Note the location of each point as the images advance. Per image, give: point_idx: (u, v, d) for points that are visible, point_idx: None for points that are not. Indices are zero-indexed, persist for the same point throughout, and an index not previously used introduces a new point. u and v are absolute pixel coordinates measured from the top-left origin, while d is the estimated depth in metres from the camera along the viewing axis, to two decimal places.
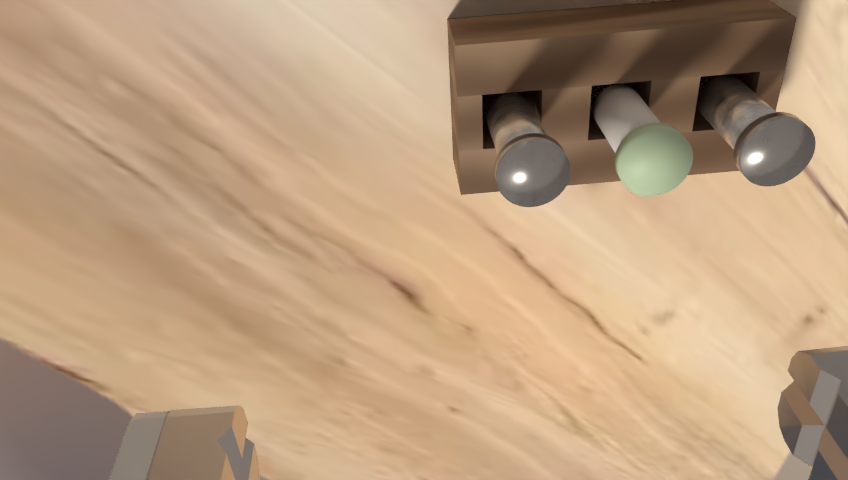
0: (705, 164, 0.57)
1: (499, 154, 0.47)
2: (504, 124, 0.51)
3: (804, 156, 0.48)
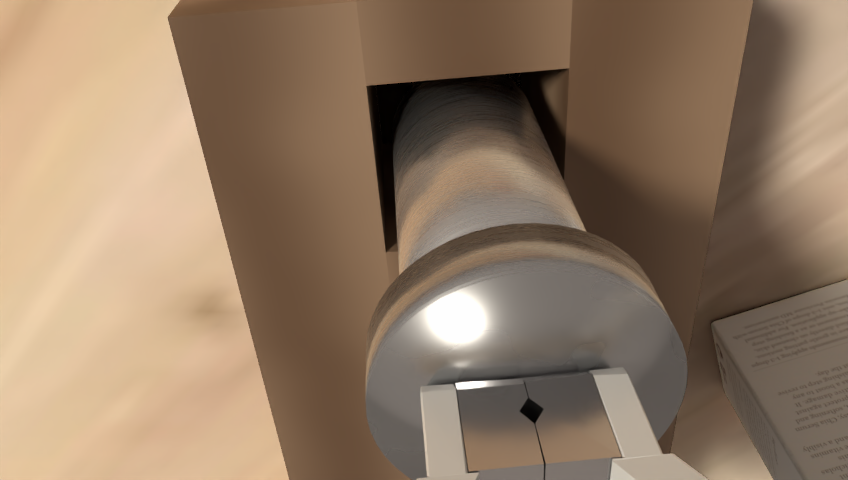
0: None
1: (600, 245, 0.11)
2: (556, 172, 0.14)
3: None
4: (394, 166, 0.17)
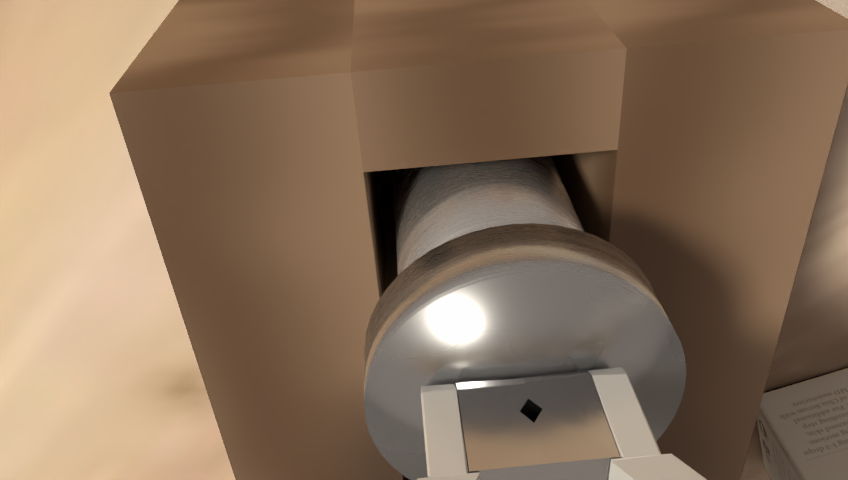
0: None
1: (599, 246, 0.11)
2: (554, 172, 0.14)
3: None
4: None
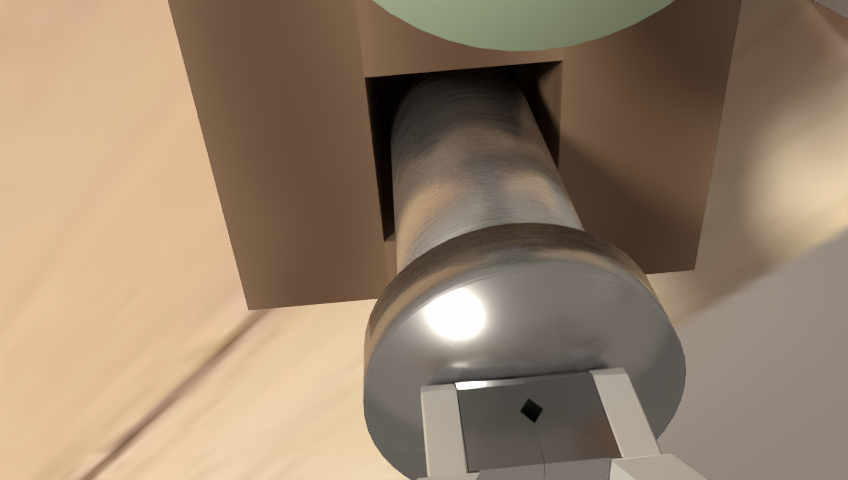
0: (244, 150, 0.17)
1: None
2: None
3: None
4: None
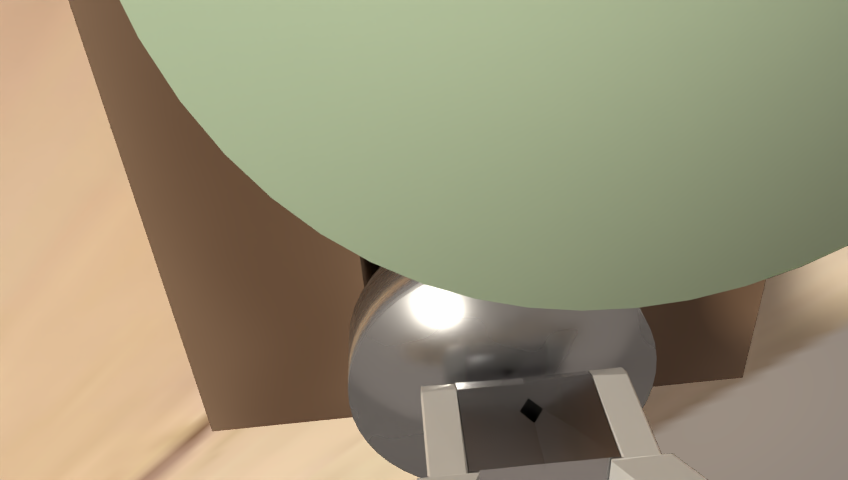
0: (200, 255, 0.14)
1: None
2: None
3: None
4: None
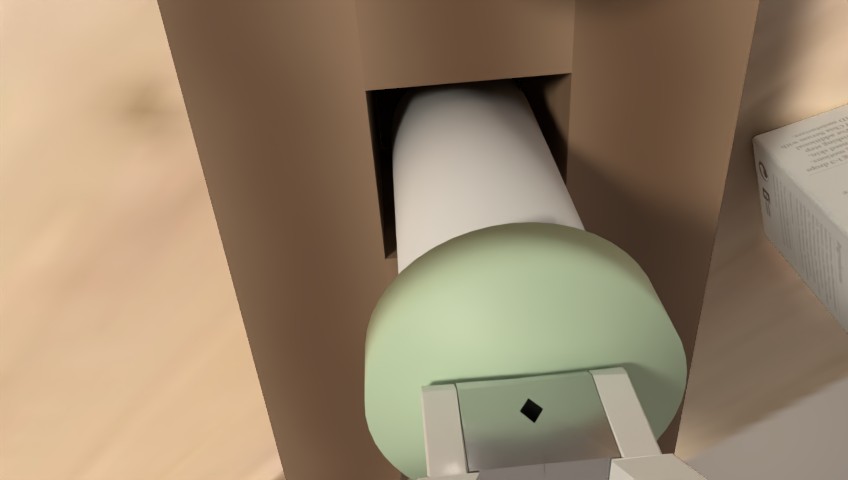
0: (298, 414, 0.21)
1: None
2: None
3: None
4: None
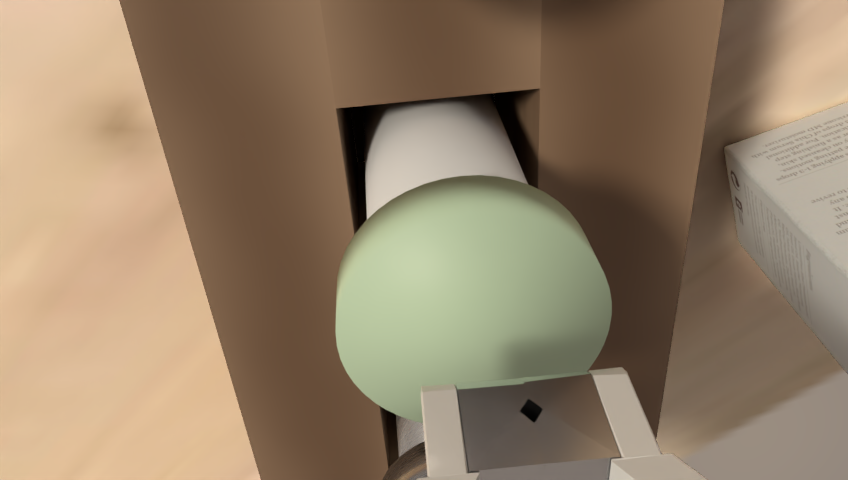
0: (277, 430, 0.21)
1: None
2: None
3: None
4: None
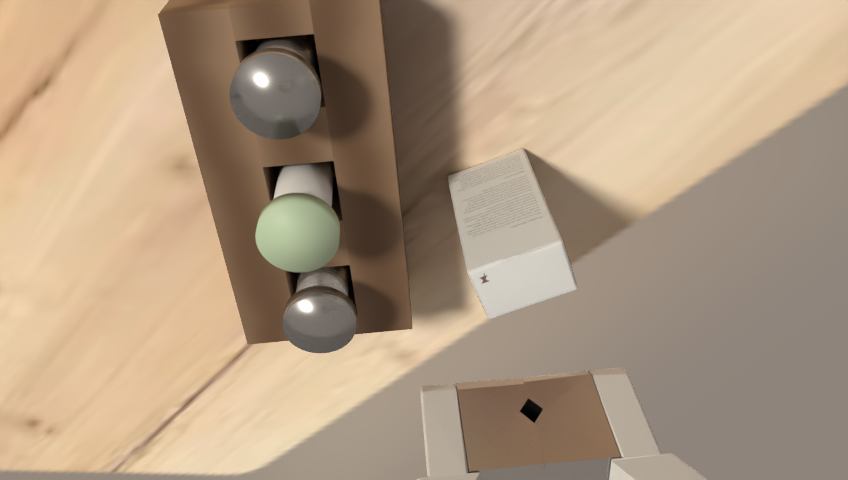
0: (246, 292, 0.51)
1: (292, 53, 0.39)
2: (304, 45, 0.43)
3: (318, 347, 0.49)
4: None
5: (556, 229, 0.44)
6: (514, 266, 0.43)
